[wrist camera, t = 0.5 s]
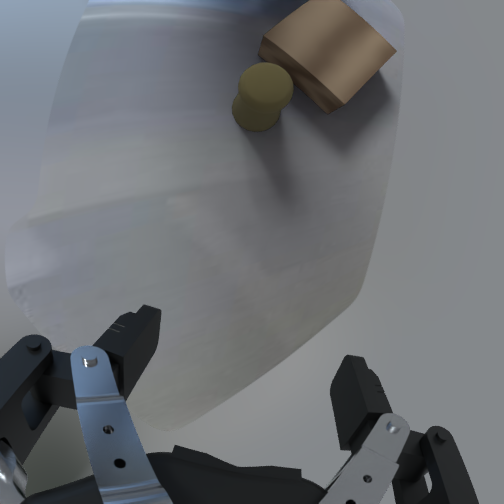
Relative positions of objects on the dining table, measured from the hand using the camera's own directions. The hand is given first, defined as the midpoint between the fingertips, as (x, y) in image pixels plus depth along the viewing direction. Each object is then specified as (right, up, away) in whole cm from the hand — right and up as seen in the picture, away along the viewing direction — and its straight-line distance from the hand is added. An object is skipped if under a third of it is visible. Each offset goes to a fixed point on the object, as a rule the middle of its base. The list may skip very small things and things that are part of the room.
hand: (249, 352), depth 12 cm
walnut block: (+9, +30, +21) cm, 38 cm away
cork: (+1, +22, +22) cm, 31 cm away
